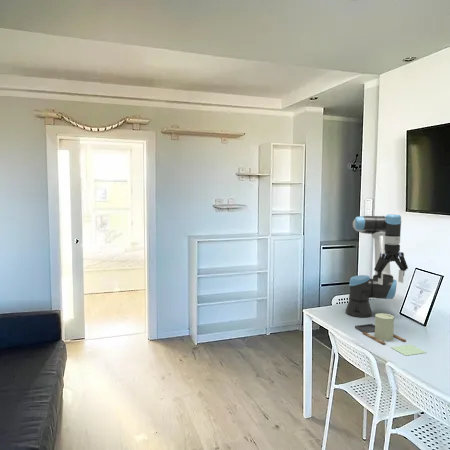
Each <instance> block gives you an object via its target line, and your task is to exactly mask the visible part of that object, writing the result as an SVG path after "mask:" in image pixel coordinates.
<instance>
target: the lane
mask: <svg viewBox="0 0 450 450" xmlns="http://www.w3.org/2000/svg"><path fill="white" fill-rule="evenodd" d="M361 333H362V335H363V336H366V337H367V338H370V339H372V340H373V341H376V342H377V343H379V344H381V345H382V346H384V345H386V341H382V340H379V339H377V338H375V337H374V336H373V335H371V334H369V333H366V332H361ZM393 338H395V339H397V340H399V341H401V342H403V343H406V342H407V339H405V338H403V337H401V336H399V335H396V334H394V333H393Z"/></svg>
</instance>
